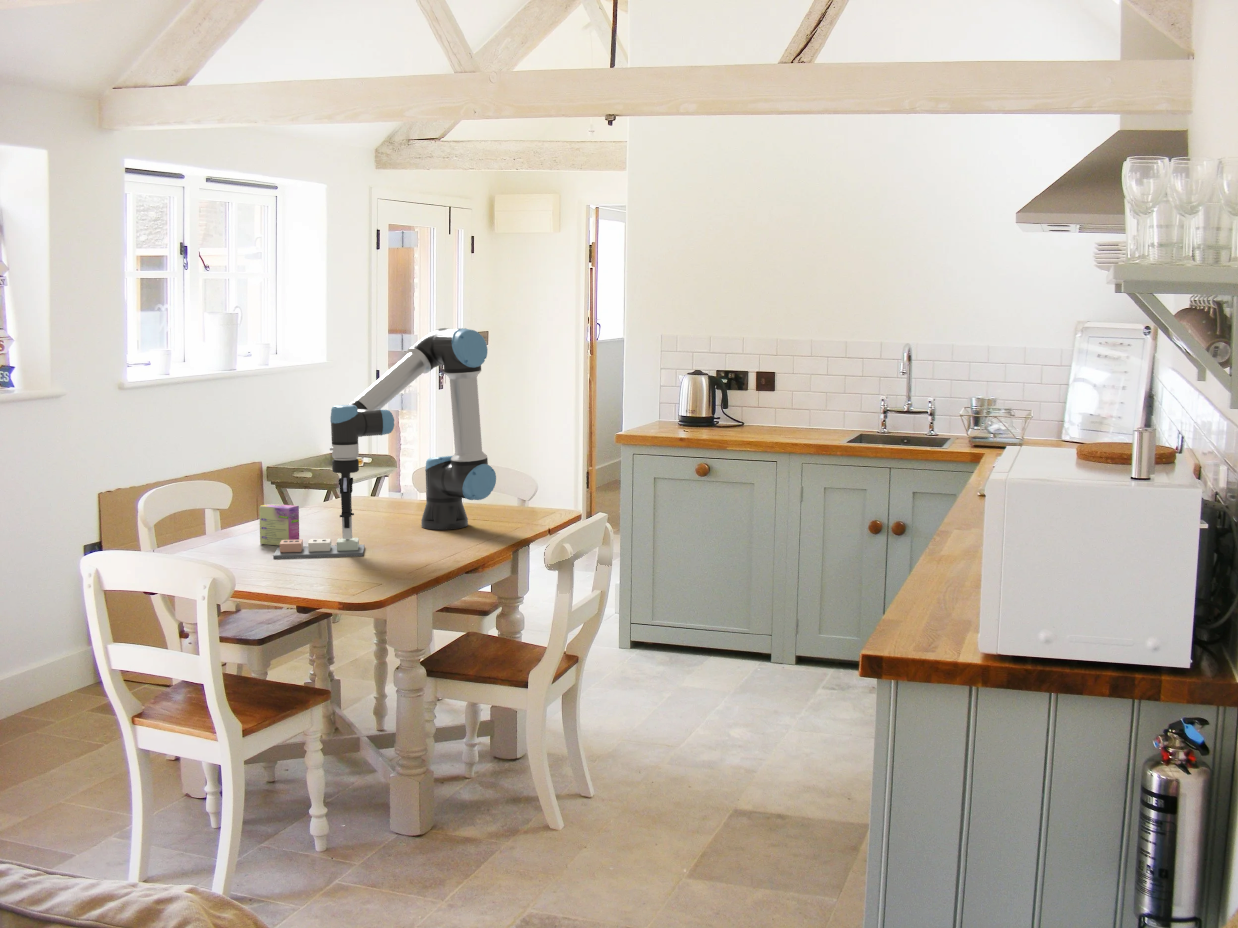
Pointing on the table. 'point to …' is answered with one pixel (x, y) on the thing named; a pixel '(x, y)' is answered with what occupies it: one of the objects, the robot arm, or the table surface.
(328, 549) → the tile two
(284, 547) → the tile three
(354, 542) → the tile one
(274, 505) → the box
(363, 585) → the table surface
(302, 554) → the keypad board
